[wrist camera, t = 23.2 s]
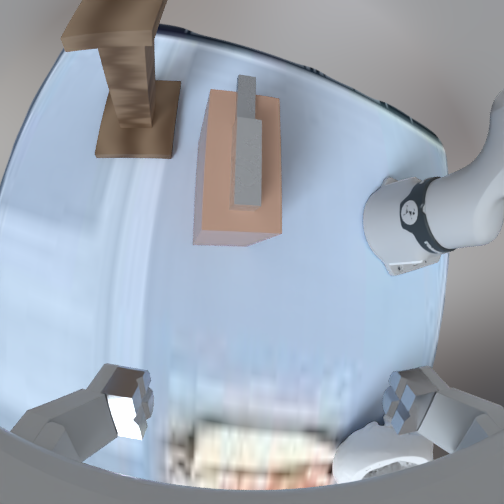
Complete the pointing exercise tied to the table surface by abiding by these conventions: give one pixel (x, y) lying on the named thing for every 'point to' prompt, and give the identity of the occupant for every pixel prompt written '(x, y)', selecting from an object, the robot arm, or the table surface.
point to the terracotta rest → (218, 176)
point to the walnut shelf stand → (128, 76)
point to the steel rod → (246, 150)
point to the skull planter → (379, 452)
